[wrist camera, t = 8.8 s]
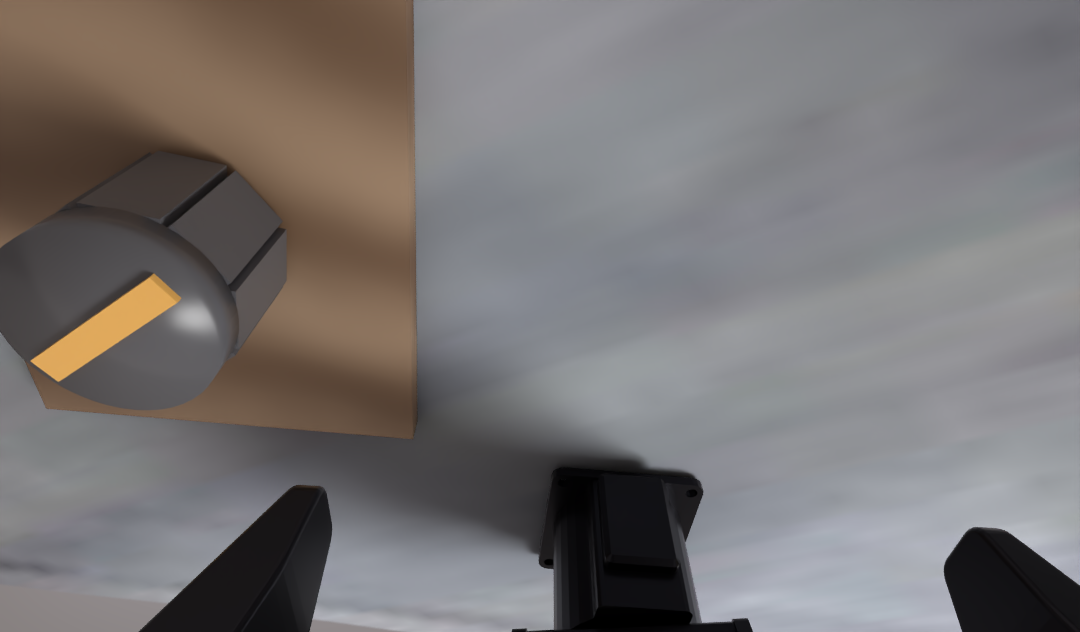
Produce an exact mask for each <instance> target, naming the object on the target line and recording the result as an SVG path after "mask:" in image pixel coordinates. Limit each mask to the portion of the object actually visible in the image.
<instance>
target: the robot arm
mask: <svg viewBox="0 0 1080 632" xmlns="http://www.w3.org/2000/svg"><path fill="white" fill-rule="evenodd" d="M561 479H566V480H561ZM691 489H692V490H691ZM702 496H703V488H702V485H701V482H700V481H699V480H697V479H694V478H684V477H672V476H660V475H648V474H636V473H623V472H611V471H599V470H587V469H575V468H559V469H556V470H555V471H554V472H553V473H552V476H551V483H550V489H549V495H548V501H547V507H546V513H545V519H544V526H543V532H542V538H541V544H540V550H539V564H540V566H542V567H544V568H548V569H554V630H541V631H527V629H512V632H753V631H752V628H751V626H750V623H749V620H748V619H747V618H742V619H732V622H714V623H702V621H701V616H700V611H699V607H698V602H697V597H696V592H695V587H694V583H693V578H692V573H691V568H690V564H689V559H688V554H687V549H686V544H685V542H686V539H687V537H688V534H689V531H690V528H691V526H692V523H693V520H694V517H695V515H696V512H697V509H698V507H699V504H700V501H701V498H702ZM331 536H332V522H331V516H330V510H329V504H328V498H327V493H326V491H325V489H324V488H323V487H320V486H307V485H296V486H293V487H292V488H290V489H289V490H288V491H287V492H286V493H284V494H283V495H282V496H281V497H280V498H279V499H278V500H277V501H276V502H275V503H274V504H273V505H272V506H271V507H270V508H269V509H268V510H267V511H265V512H264V513H263V514H262V515H261V516H260V517H259V518H258V519H257V520H256V521H255V522H254V523H253V524H252V525H251V526H250V527H249V528H248V529H246V530H245V531H244V532H243V533H242V534H241V535H240V536H239V537H238V538H237V539H236V540H235V541H234V542H233V543H232V544H231V545H230V546H229V547H227V548H226V549H225V550H224V551H223V552H222V553H221V554H220V555H219V556H218V557H217V558H216V559H215V560H214V561H213V562H212V563H211V564H210V565H209V566H207V567H206V568H205V569H204V570H203V571H202V572H201V573H200V574H199V575H198V576H197V577H196V578H195V579H194V580H193V581H192V582H191V583H190V584H188V585H187V586H186V587H185V588H184V589H183V590H182V591H181V592H180V593H179V594H178V595H177V596H176V597H175V598H174V599H173V600H172V601H171V602H169V603H168V604H167V605H166V606H165V607H164V608H163V609H162V610H161V611H160V612H159V613H158V614H157V615H156V616H155V617H154V618H153V619H152V620H150V621H149V622H148V623H147V625H145V626H144V627H143V628H142V629H141V630H140V631H139V632H309V631H310V627H311V622H312V618H313V614H314V610H315V606H316V602H317V597H318V593H319V589H320V585H321V581H322V576H323V572H324V568H325V564H326V559H327V555H328V551H329V547H330V542H331ZM944 576H945V581H946V584H947V587H948V590H949V593H950V596H951V599H952V602H953V605H954V608H955V611H956V614H957V617H958V620H959V623H960V626H961V629H962V632H1080V585H1078V584H1077V583H1076V582H1074V581H1073V580H1072V579H1070V578H1069V577H1068V576H1066V575H1065V574H1064V573H1062V572H1061V571H1060V570H1058V569H1057V568H1056V567H1054V566H1053V565H1052V564H1050V563H1049V562H1048V561H1046V560H1045V559H1044V558H1042V557H1041V556H1040V555H1038V554H1037V553H1036V552H1034V551H1033V550H1032V549H1030V548H1029V547H1028V546H1026V545H1025V544H1024V543H1022V542H1021V541H1020V540H1018V539H1017V538H1016V537H1014V536H1013V535H1011V534H1010V533H1008V532H1007V531H1005V530H1002V529H997V528H983V527H973V528H971V529H969V530H968V531H967V532H966V533H965V534H964V535H963V537H962V538H961V540H960V541H959V543H958V544H957V545H956V547H955V548H954V550H953V551H952V552H951V554H950V555H949V557H948V558H947V560H946V561H945V565H944Z"/></svg>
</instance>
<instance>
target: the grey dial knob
mask: <svg viewBox="0 0 1080 632" xmlns="http://www.w3.org/2000/svg"><path fill="white" fill-rule="evenodd" d="M282 222H283V221H282V220H281V218H280V217H279V216H278V215H277V214H276V213H275V212H274V211H273V210H272V209H271V208H270V207H269V206H268V204H267V203H266V202H265V201H264V200H263V199H262V198H261V197H260V196H259V195H258V194H257V193H256V192H255V191H254V189H253V188H252V187H251V186H250V185H249V184H248V183H247V182H246V181H245V180H244V179H243V178H242V177H241V175H240V174H239V173H238V172H237V171H234V172H233V173H232V174H230V175H229V176H227V165H224V164H219V163H214V162H210V161H205V160H200V159H195V158H191V157H186V156H181V155H176V154H172V153H167V152H162V151H157V152H156V153H154V154H151V153H150V152H149V153H148V154H146V155H144V156H143V157H141V158H140V159H138V160H136V161H135V162H133V163H132V164H130V165H128V166H127V167H125V168H124V169H122V170H120V171H119V172H117V173H116V174H114V175H112V176H111V177H109V178H108V179H106V180H104V181H103V182H101V183H99V184H98V185H96V186H95V187H93V188H91V189H90V190H88V191H87V192H85V193H83V194H82V195H80V196H79V197H77V198H75V199H74V200H72V201H71V202H69V203H67V204H66V205H65V206H63V207H62V208H61V209H60V210H58V211H57V212H56V213H55V214H53V215H50V216H49V217H47V218H45V219H44V220H42V221H41V222H39V223H37V224H36V225H34V226H33V227H31V228H29V229H28V230H26V231H25V232H23V233H21V234H20V235H18V236H17V237H15V238H13V239H12V240H10V241H9V242H7V243H6V244H4V245H3V246H2V247H1V248H0V332H1V333H2V335H3V336H4V337H5V339H6V340H7V342H8V343H9V344H10V345H11V346H12V347H13V349H14V350H15V351H16V352H17V353H18V354H19V355H20V356H21V357H22V358H23V359H24V360H25V361H26V362H27V363H28V364H30V365H31V366H32V367H33V368H35V369H36V370H37V371H38V372H40V373H41V374H42V375H44V376H45V377H47V378H48V379H50V380H51V381H53V382H54V383H56V384H58V385H60V386H61V387H63V388H65V389H67V390H69V391H71V392H73V393H75V394H77V395H79V396H82V397H84V398H87V399H90V400H92V401H95V402H98V403H102V404H105V405H109V406H113V407H118V408H123V409H132V410H161V409H166V408H172V407H175V406H178V405H181V404H184V403H186V402H188V401H190V400H192V399H194V398H195V397H197V396H198V395H200V394H201V393H202V392H203V391H204V390H205V389H206V388H207V387H208V386H209V384H210V383H211V382H212V380H213V379H214V377H215V376H216V375H217V373H218V372H219V370H220V369H221V368H222V366H223V365H224V363H225V362H226V361H227V360H229V359H231V358H232V357H234V356H236V354H237V353H238V351H239V350H240V348H241V347H242V345H243V344H244V343H245V341H246V340H247V338H248V337H249V335H250V334H251V333H252V331H253V330H254V328H255V327H256V325H257V324H258V323H259V321H260V320H261V318H262V317H263V315H264V314H265V312H266V311H267V310H268V308H269V307H270V305H271V304H272V302H273V301H274V300H275V298H276V297H277V295H278V294H279V292H280V291H281V290H282V288H283V285H284V284H285V283H286V281H287V229H283V228H278V227H279V225H280V224H281V223H282Z"/></svg>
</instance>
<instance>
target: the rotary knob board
mask: <svg viewBox="0 0 1080 632" xmlns="http://www.w3.org/2000/svg"><path fill="white" fill-rule="evenodd" d="M157 151H162V152H167V153H172V154H176V155H181V156H186V157H191V158H195V159H200V160H205V161H210V162H214V163H219V164H224V165H227V176H229V175H230V174H232V173H233V172H234V171H237V172H238V173H239V174H240V175H241V177H242V178H243V179H244V180H245V181H246V182H247V183H248V184H249V185H250V186H251V187H252V188H253V189H254V191H255V192H256V193H257V194H258V195H259V196H260V197H261V198H262V199H263V200H264V201H265V202H266V203H267V204H268V206H269V207H270V208H271V209H272V210H273V211H274V212H275V213H276V214H277V215H278V216H279V217H280V218H281V220H282V221H283V222H282V223H281V224H280V225H279V227H278V228H283V229H287V281H286V283H285V284H284V285H283V288H282V290H281V291H280V292H279V294H278V295H277V297H276V298H275V300H274V301H273V302H272V304H271V305H270V307H269V308H268V310H267V311H266V312H265V314H264V315H263V317H262V318H261V320H260V321H259V323H258V324H257V325H256V327H255V328H254V330H253V331H252V333H251V334H250V335H249V337H248V338H247V340H246V341H245V343H244V344H243V345H242V347H241V348H240V350H239V351H238V353H237V354H236V356H234V357H232V358H231V359H229V360H227V361H226V362H225V363H224V365H223V366H222V368H221V369H220V370H219V372H218V373H217V375H216V376H215V377H214V379H213V380H212V382H211V383H210V384H209V386H208V387H207V388H206V389H205V390H204V391H203V392H202V393H201V394H200V395H198V396H197V397H195V398H194V399H192V400H190V401H188V402H186V403H184V404H181V405H178V406H175V407H172V408H166V409H161V410H132V409H123V408H118V407H113V406H109V405H105V404H102V403H98V402H95V401H92V400H90V399H87V398H84V397H82V396H79V395H77V394H75V393H73V392H71V391H69V390H67V389H65V388H63V387H61V386H60V385H58V384H56V383H54V382H53V381H51V380H50V379H48V378H47V377H45V376H44V375H42V374H41V373H40V372H38V371H37V370H36V369H35V368H33V367H32V366H31V365H30V364H28V363H27V362H26V361H25V362H26V364H27V367H28V369H29V371H30V373H31V376H32V378H33V380H34V382H35V384H36V387H37V389H38V391H39V393H40V396H41V398H42V400H43V402H44V404H45V407H46V409H58V410H70V411H82V412H94V413H106V414H118V415H130V416H142V417H154V418H166V419H178V420H189V421H201V422H213V423H225V424H237V425H249V426H261V427H273V428H285V429H297V430H309V431H321V432H333V433H345V434H357V435H369V436H381V437H393V438H405V439H413V437H414V433H415V429H416V425H417V327H416V226H415V124H414V22H413V0H0V248H1V247H2V246H3V245H4V244H6V243H7V242H9V241H10V240H12V239H13V238H15V237H17V236H18V235H20V234H21V233H23V232H25V231H26V230H28V229H29V228H31V227H33V226H34V225H36V224H37V223H39V222H41V221H42V220H44V219H45V218H47V217H49V216H50V215H53V214H55V213H56V212H57V211H58V210H60V209H61V208H62V207H63V206H65V205H66V204H67V203H69V202H71V201H72V200H74V199H75V198H77V197H79V196H80V195H82V194H83V193H85V192H87V191H88V190H90V189H91V188H93V187H95V186H96V185H98V184H99V183H101V182H103V181H104V180H106V179H108V178H109V177H111V176H112V175H114V174H116V173H117V172H119V171H120V170H122V169H124V168H125V167H127V166H128V165H130V164H132V163H133V162H135V161H136V160H138V159H140V158H141V157H143V156H144V155H146V154H148V153H149V152H150V153H151V154H154V153H156V152H157Z"/></svg>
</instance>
